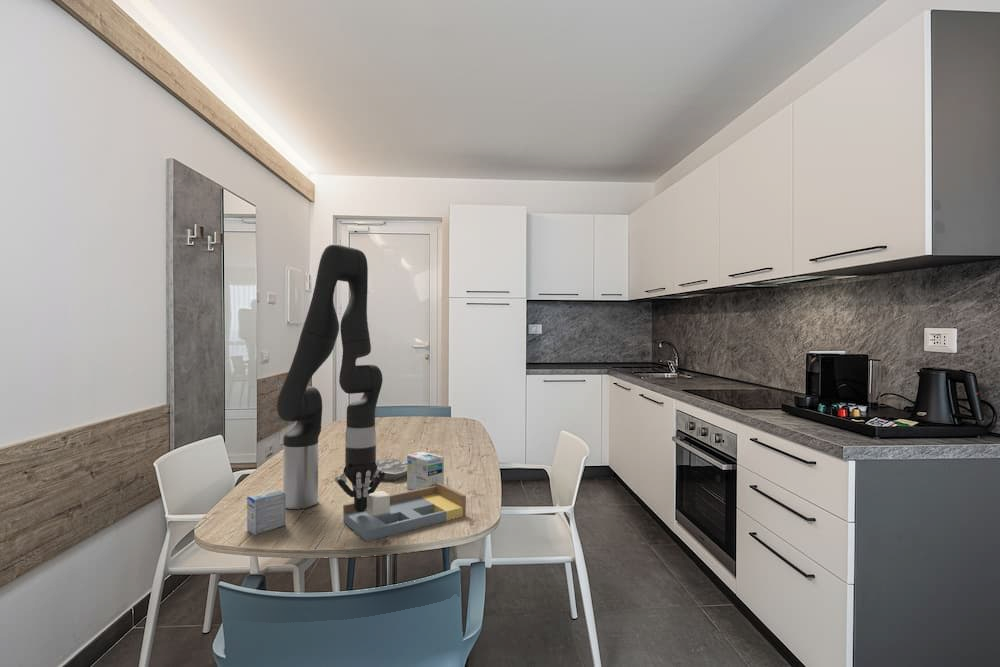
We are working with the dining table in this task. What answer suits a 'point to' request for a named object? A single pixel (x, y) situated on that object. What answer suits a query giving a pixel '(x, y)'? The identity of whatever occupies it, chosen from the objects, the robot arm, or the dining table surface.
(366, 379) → the robot arm
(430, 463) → the light bulb box
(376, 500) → the ivory block
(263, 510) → the medicine box
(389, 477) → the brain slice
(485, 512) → the dining table surface
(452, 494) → the trap deck
